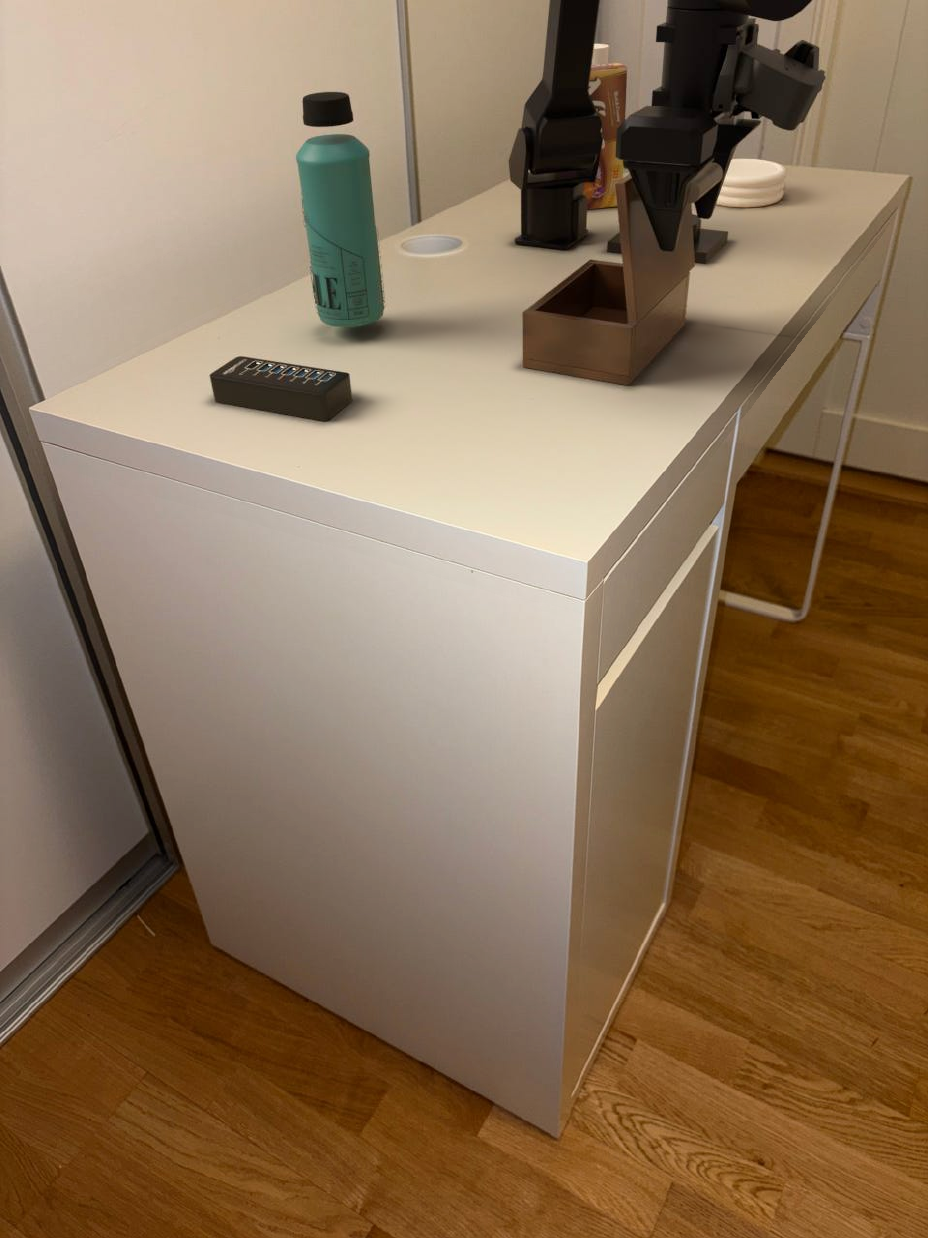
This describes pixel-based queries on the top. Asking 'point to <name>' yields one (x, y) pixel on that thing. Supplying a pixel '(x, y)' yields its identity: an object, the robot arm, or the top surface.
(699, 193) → the chest lid
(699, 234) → the control block
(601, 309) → the chest
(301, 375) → the multiport hub
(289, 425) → the top surface
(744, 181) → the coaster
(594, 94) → the candy box
